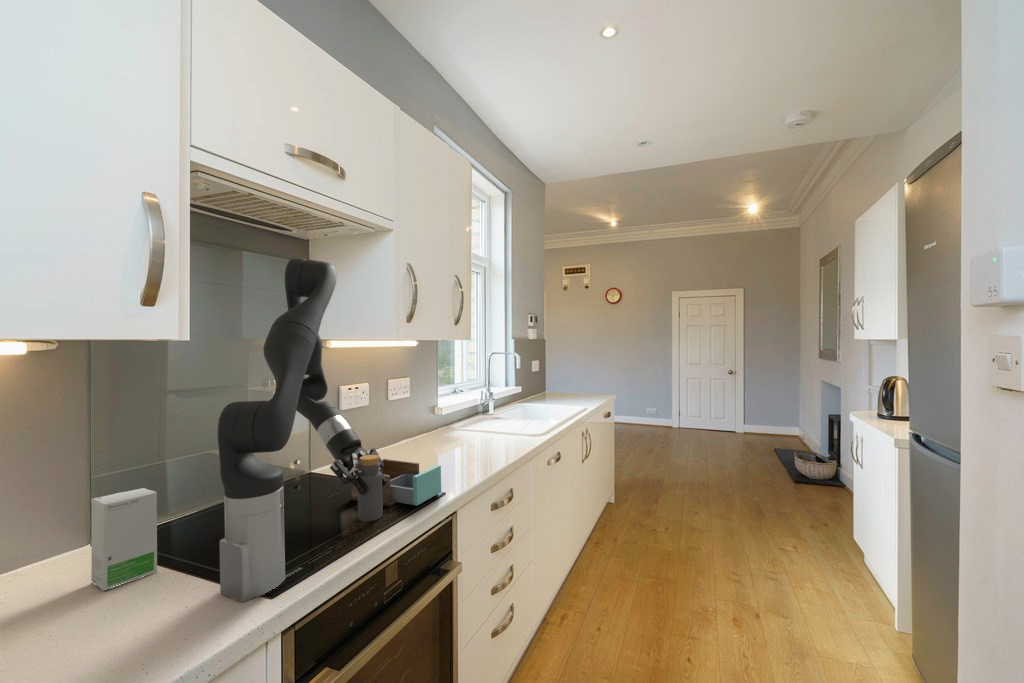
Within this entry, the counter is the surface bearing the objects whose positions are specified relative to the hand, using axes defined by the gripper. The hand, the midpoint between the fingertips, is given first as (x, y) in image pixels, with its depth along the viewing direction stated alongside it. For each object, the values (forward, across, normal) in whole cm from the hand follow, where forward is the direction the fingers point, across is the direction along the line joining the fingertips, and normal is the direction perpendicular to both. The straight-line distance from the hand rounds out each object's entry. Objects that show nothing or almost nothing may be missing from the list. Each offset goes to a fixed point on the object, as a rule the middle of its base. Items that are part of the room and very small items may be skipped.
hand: (375, 488), depth 109 cm
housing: (-1, +14, +11) cm, 18 cm away
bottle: (+4, 0, +6) cm, 8 cm away
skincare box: (-12, -40, +23) cm, 48 cm away
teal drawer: (+4, +14, +4) cm, 15 cm away
